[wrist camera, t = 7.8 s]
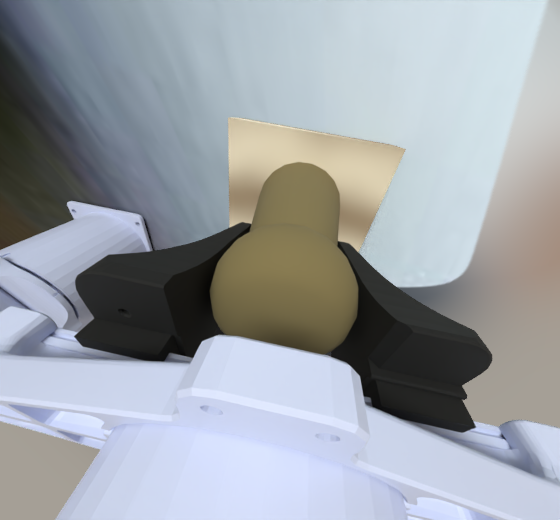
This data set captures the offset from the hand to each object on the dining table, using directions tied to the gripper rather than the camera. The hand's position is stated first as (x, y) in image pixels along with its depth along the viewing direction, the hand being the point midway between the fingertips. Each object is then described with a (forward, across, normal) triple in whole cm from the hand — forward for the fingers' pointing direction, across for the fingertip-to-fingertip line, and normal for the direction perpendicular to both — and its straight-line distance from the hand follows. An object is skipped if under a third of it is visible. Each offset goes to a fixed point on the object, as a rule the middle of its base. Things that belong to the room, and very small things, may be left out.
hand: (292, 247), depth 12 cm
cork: (+5, 0, -1) cm, 5 cm away
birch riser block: (+7, 0, 0) cm, 7 cm away
